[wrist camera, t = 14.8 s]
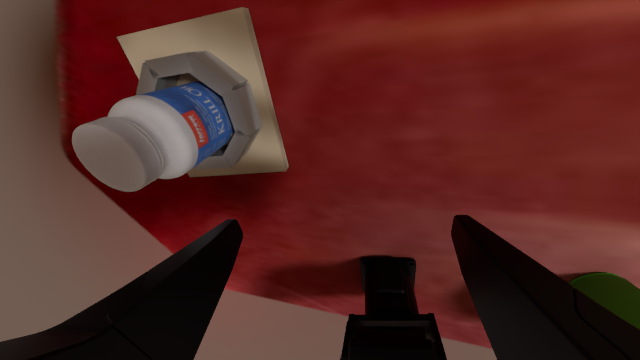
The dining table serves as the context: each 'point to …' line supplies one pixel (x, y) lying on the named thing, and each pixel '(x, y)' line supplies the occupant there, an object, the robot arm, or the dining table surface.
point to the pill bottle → (154, 136)
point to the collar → (216, 84)
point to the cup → (612, 294)
